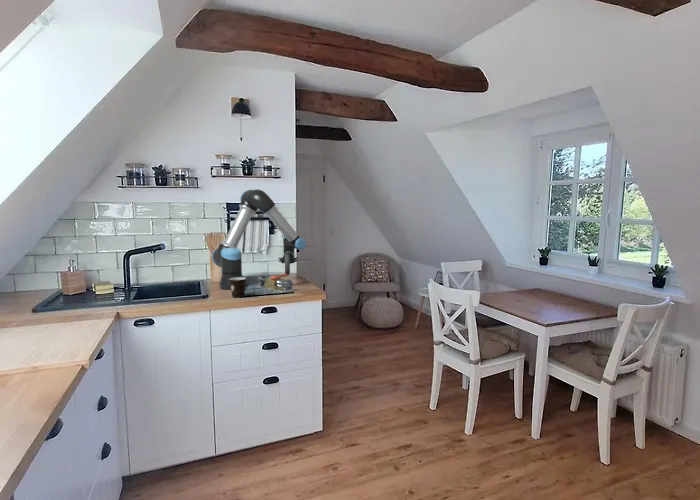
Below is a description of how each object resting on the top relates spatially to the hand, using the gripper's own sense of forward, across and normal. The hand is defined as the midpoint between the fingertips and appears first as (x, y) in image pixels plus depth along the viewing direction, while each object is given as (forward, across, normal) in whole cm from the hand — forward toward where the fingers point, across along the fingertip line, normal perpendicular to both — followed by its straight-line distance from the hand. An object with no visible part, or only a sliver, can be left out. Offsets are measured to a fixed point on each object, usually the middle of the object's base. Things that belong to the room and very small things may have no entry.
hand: (287, 263), depth 253 cm
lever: (+6, +4, -8) cm, 11 cm away
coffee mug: (+29, +26, -14) cm, 41 cm away
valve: (+9, +8, -14) cm, 18 cm away
